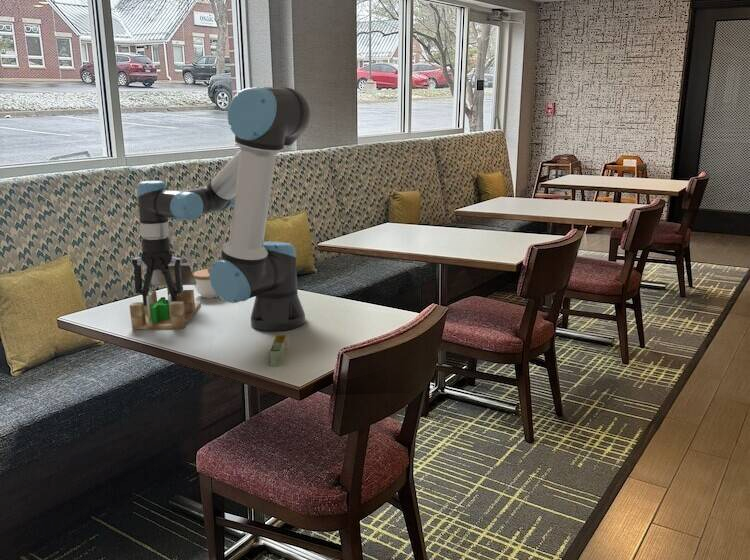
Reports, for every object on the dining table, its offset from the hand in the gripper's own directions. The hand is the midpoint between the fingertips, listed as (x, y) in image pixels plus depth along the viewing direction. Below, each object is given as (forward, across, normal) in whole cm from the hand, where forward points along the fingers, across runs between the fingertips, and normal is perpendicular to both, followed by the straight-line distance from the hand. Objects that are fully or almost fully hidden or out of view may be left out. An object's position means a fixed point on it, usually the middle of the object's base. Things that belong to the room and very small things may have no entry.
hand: (161, 316), depth 195 cm
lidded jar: (+2, -9, -26) cm, 27 cm away
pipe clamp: (+1, -1, 0) cm, 1 cm away
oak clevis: (+1, -1, -3) cm, 4 cm away
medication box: (+1, -37, +32) cm, 49 cm away
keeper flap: (-9, -1, -10) cm, 14 cm away
